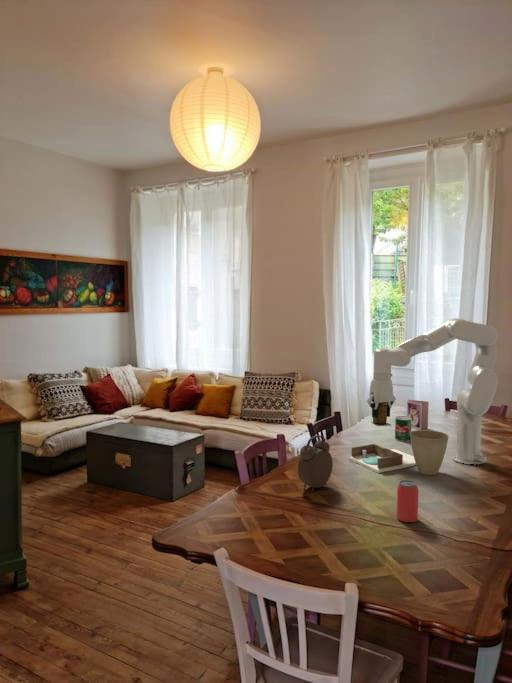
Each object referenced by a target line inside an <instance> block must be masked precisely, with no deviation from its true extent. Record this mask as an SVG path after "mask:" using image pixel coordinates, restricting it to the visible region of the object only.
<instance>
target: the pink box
mask: <svg viewBox="0 0 512 683" xmlns="http://www.w3.org/2000/svg"><path fill="white" fill-rule="evenodd" d="M429 405H430V404H429V401H425V400H415V399H407V401H406V417H410V418H412V419H411V429H414V430H422V429H424V430H429V429H428V428H429Z"/></svg>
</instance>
